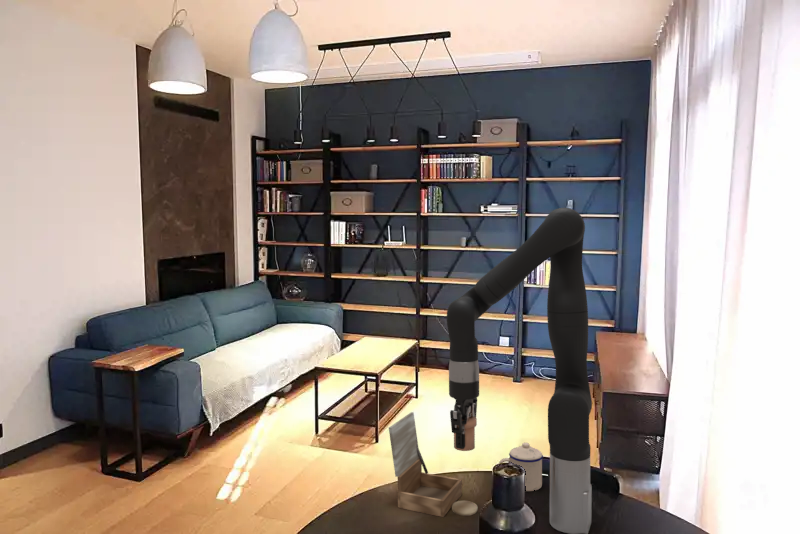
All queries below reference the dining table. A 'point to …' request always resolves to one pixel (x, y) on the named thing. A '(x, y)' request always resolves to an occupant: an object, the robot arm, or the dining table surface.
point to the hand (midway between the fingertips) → (464, 443)
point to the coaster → (464, 508)
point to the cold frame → (419, 474)
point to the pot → (468, 434)
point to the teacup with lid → (528, 464)
